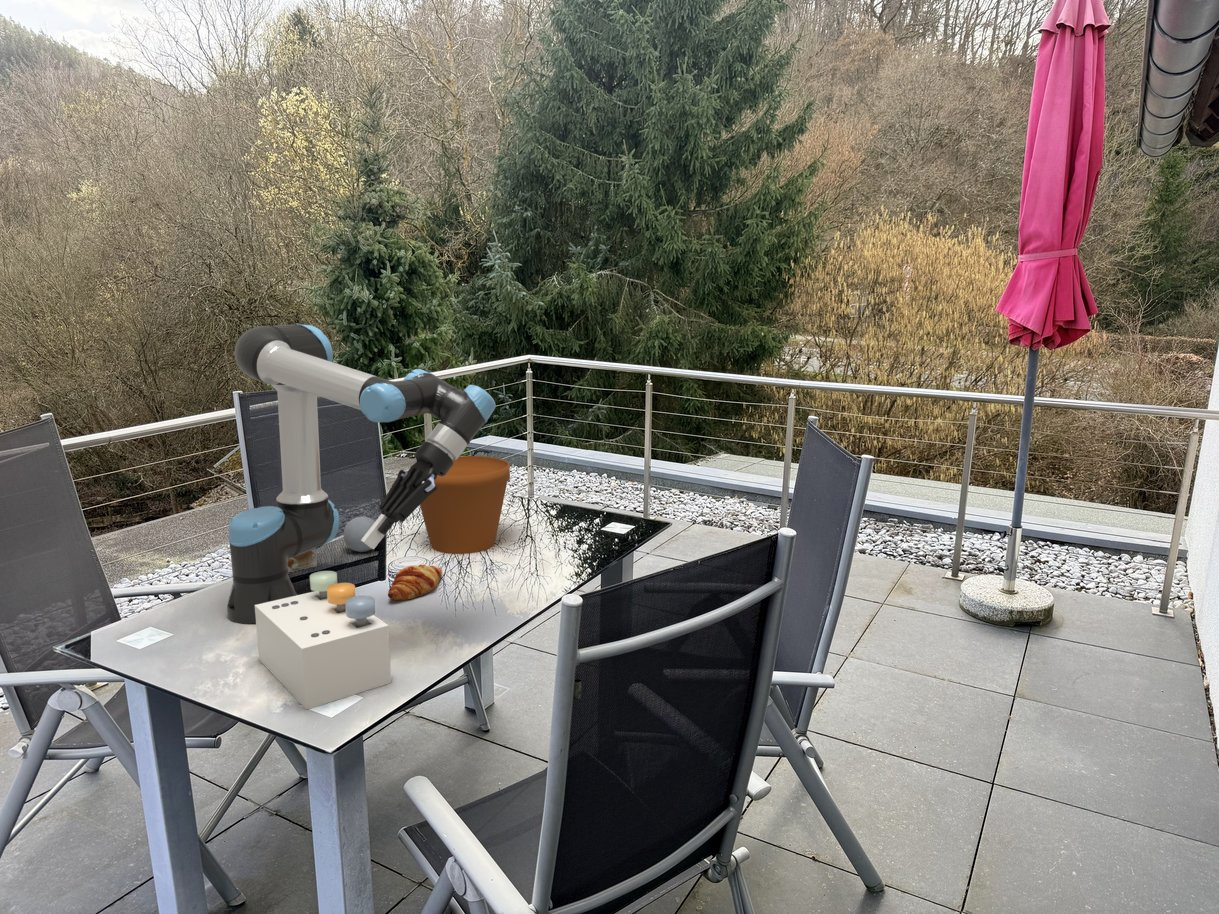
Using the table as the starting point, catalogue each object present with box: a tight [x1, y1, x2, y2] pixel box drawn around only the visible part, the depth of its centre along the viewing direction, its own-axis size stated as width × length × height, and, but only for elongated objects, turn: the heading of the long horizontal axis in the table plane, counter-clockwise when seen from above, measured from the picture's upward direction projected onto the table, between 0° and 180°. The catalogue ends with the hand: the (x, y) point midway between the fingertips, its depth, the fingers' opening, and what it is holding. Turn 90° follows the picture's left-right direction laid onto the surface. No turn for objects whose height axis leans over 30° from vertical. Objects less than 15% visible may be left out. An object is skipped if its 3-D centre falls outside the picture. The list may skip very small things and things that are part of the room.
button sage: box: [309, 570, 338, 600], centre depth 165 cm, size 5×5×6 cm
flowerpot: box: [412, 455, 511, 555], centre depth 236 cm, size 28×28×24 cm
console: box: [255, 591, 392, 711], centre depth 157 cm, size 16×26×12 cm, turn 40°
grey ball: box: [342, 516, 376, 553], centre depth 230 cm, size 10×10×10 cm
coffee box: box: [287, 549, 318, 573], centre depth 215 cm, size 9×6×16 cm
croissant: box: [387, 564, 443, 601], centre depth 201 cm, size 21×10×8 cm, turn 159°
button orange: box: [327, 582, 356, 613], centre depth 158 cm, size 5×5×6 cm
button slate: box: [345, 595, 376, 628], centre depth 152 cm, size 5×5×6 cm
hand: (367, 544), depth 160 cm, fingers closed
